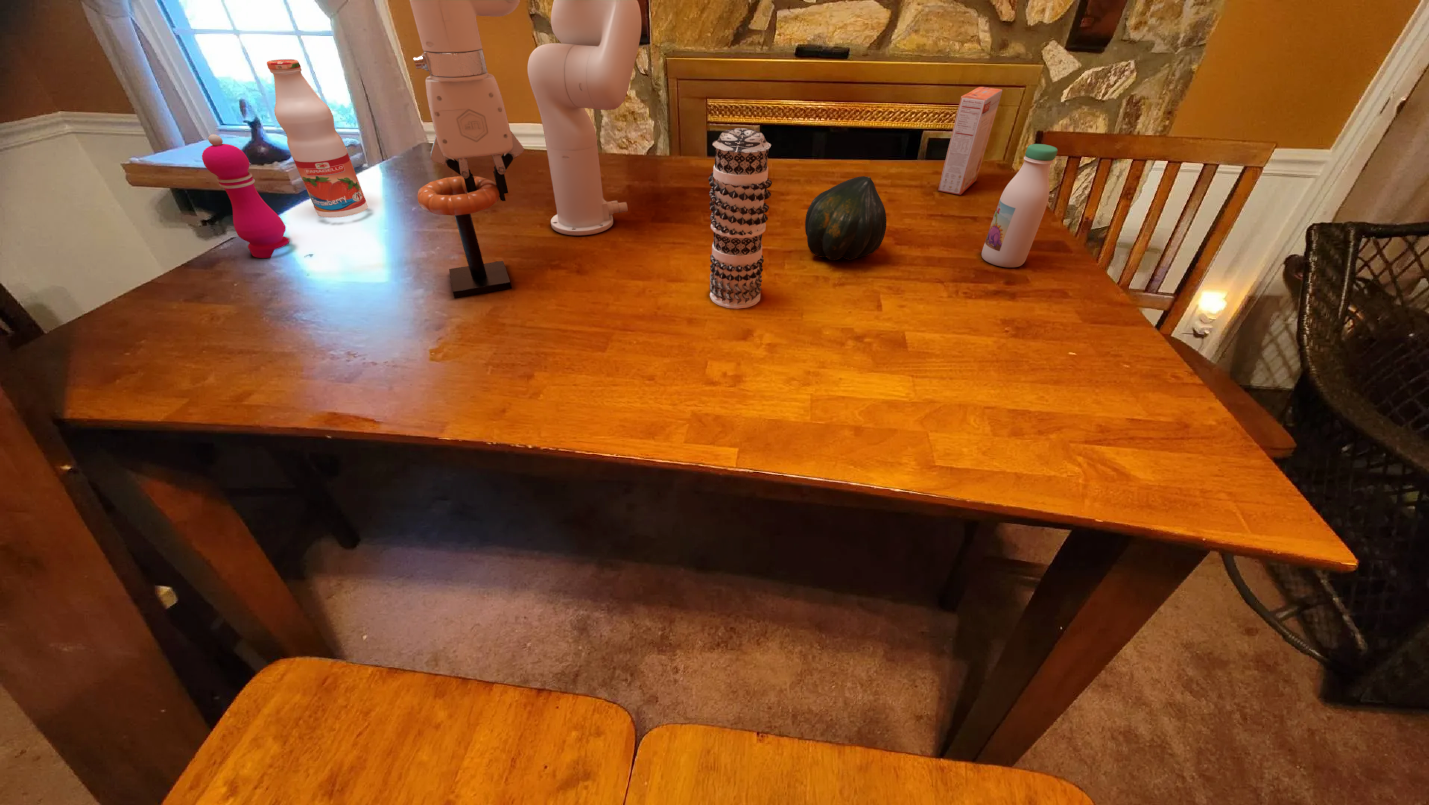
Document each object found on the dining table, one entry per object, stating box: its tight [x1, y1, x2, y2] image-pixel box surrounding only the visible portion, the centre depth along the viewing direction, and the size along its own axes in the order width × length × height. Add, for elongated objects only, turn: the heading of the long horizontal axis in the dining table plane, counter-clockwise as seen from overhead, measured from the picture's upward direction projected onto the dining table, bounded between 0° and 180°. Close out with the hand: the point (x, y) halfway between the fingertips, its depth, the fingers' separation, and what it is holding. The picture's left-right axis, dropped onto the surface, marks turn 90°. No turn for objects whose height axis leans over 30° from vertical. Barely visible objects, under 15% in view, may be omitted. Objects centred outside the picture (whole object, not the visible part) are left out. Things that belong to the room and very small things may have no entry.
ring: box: [417, 175, 500, 217], centre depth 85 cm, size 12×12×3 cm
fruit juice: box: [266, 58, 369, 219], centre depth 108 cm, size 9×9×28 cm
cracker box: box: [937, 86, 1003, 196], centre depth 131 cm, size 14×6×21 cm, turn 144°
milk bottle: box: [980, 143, 1059, 268], centre depth 98 cm, size 8×8×20 cm
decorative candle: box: [708, 127, 773, 310], centre depth 84 cm, size 9×9×25 cm
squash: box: [804, 175, 888, 261], centre depth 101 cm, size 14×15×15 cm
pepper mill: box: [201, 133, 290, 259], centre depth 96 cm, size 7×7×20 cm
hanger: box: [448, 213, 512, 299], centre depth 90 cm, size 9×9×13 cm
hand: (489, 198), depth 87 cm, fingers closed on ring, 3 cm apart
